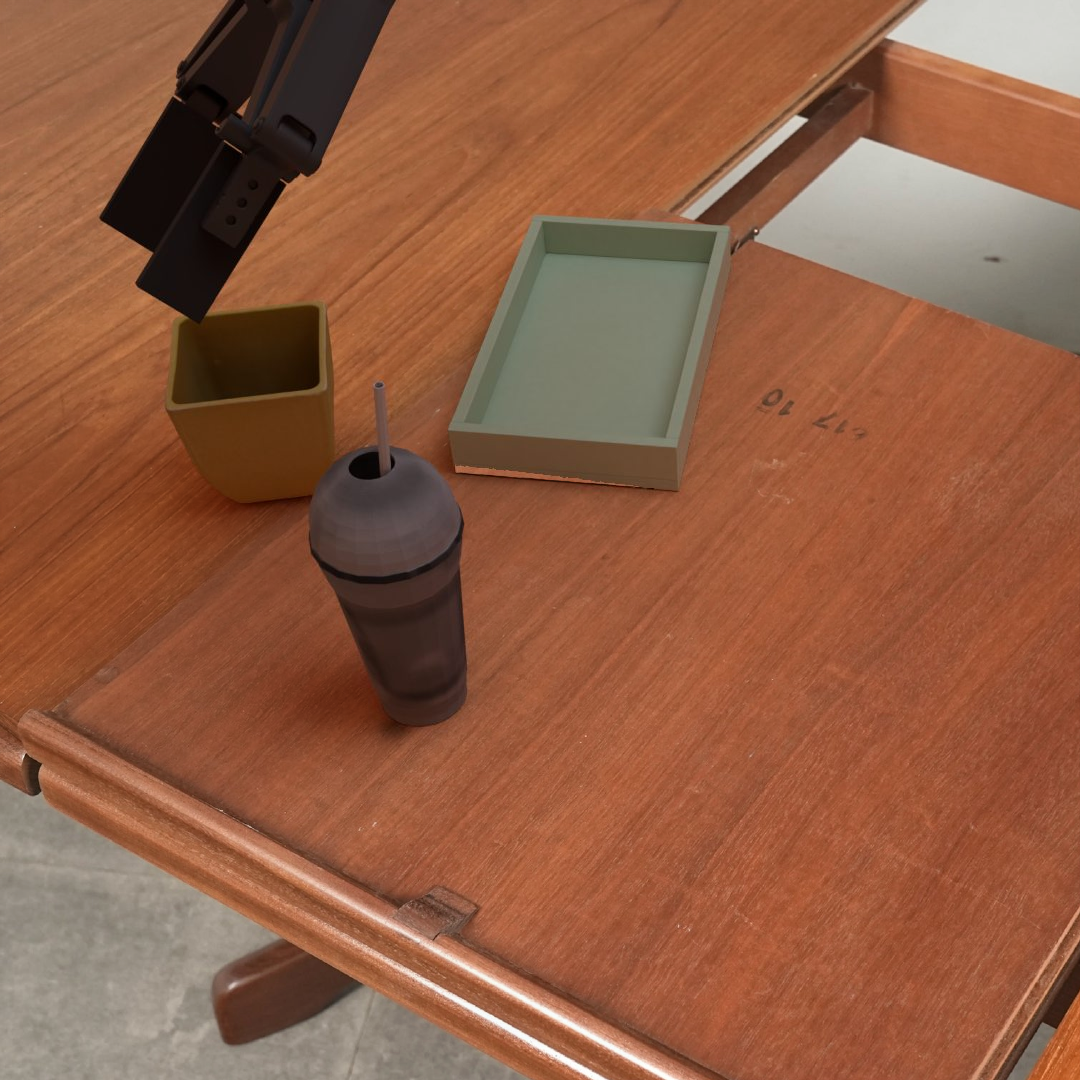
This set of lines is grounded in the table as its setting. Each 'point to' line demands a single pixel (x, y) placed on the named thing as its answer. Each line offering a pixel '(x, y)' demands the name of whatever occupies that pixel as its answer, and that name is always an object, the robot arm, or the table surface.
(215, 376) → the flower pot
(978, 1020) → the table surface
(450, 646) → the beverage cup
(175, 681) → the table surface
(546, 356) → the tray
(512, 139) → the table surface
